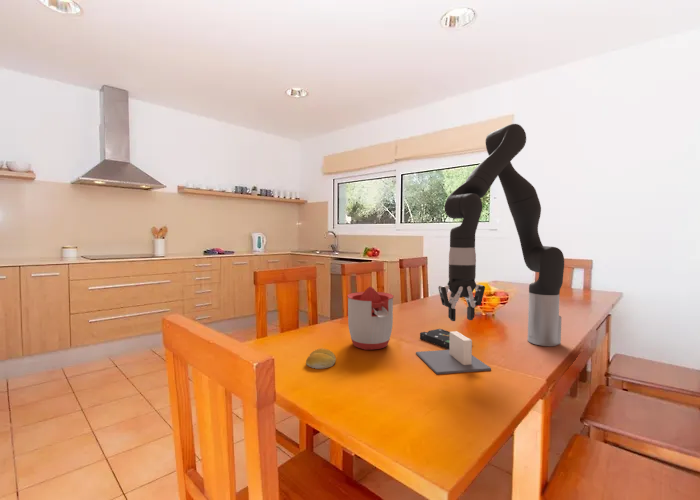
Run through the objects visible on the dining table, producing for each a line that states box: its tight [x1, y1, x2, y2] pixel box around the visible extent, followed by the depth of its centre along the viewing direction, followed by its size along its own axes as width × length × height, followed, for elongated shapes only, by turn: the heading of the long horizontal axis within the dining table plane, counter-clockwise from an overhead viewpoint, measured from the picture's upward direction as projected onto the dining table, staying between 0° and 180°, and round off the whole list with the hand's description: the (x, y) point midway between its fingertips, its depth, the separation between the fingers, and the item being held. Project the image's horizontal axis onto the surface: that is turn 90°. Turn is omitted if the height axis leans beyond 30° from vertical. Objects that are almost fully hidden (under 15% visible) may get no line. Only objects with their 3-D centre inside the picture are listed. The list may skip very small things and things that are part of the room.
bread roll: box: [305, 347, 337, 370], centre depth 102 cm, size 8×9×4 cm
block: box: [448, 330, 473, 365], centre depth 103 cm, size 2×9×7 cm, turn 10°
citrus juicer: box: [347, 286, 395, 351], centre depth 117 cm, size 16×17×20 cm
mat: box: [415, 349, 492, 375], centre depth 103 cm, size 16×16×1 cm
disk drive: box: [419, 328, 472, 350], centre depth 122 cm, size 10×3×15 cm
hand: (461, 319), depth 103 cm, fingers open, 5 cm apart
